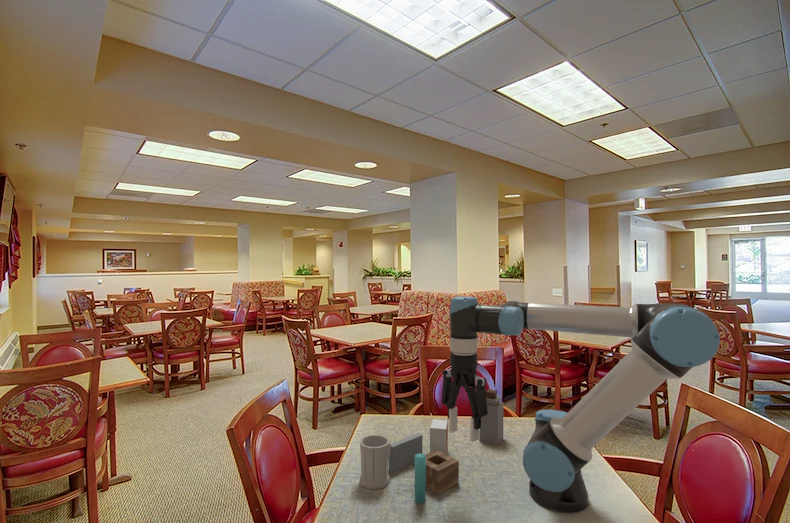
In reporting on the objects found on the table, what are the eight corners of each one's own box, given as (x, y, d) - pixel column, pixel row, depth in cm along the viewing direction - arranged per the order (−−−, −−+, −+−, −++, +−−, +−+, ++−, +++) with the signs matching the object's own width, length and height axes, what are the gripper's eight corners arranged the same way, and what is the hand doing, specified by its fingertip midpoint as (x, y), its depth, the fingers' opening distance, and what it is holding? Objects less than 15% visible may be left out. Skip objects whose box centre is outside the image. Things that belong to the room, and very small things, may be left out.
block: (458, 482, 115) (458, 460, 116) (437, 494, 110) (437, 471, 110) (436, 470, 122) (436, 449, 122) (415, 481, 116) (415, 459, 116)
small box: (446, 461, 128) (446, 429, 128) (429, 459, 129) (429, 427, 129) (448, 450, 136) (448, 419, 136) (432, 448, 137) (432, 418, 137)
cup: (362, 470, 122) (362, 432, 123) (391, 471, 122) (391, 432, 122) (357, 489, 112) (357, 447, 112) (389, 490, 112) (389, 448, 112)
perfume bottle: (503, 438, 145) (503, 390, 145) (497, 445, 139) (497, 395, 140) (485, 434, 149) (485, 387, 149) (479, 441, 143) (479, 391, 143)
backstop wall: (422, 459, 130) (422, 435, 130) (392, 473, 121) (392, 447, 121) (418, 457, 131) (418, 433, 131) (388, 470, 122) (388, 444, 123)
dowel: (428, 500, 107) (428, 456, 107) (420, 504, 105) (420, 459, 105) (420, 495, 109) (420, 452, 109) (412, 499, 107) (412, 455, 107)
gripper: (502, 356, 104) (502, 443, 104) (445, 345, 119) (445, 421, 118) (485, 361, 99) (485, 452, 99) (428, 348, 114) (428, 428, 114)
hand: (463, 435), depth 109 cm, fingers open, 7 cm apart
